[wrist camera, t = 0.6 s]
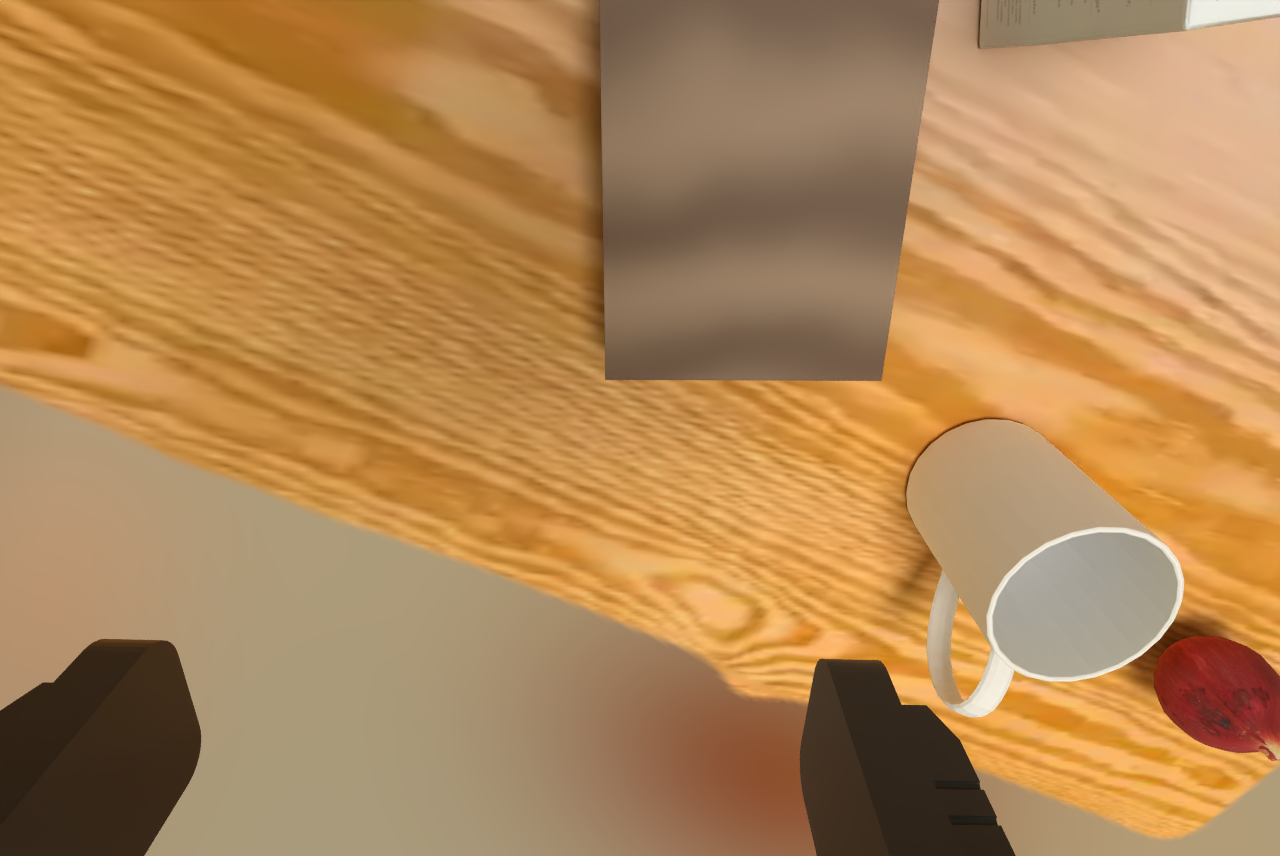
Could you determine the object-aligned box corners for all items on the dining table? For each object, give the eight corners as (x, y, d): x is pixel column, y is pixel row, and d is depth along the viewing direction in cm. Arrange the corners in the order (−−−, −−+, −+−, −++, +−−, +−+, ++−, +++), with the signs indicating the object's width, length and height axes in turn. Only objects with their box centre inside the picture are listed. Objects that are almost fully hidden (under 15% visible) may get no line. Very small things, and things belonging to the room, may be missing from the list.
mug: (958, 393, 38) (1067, 499, 28) (1084, 449, 39) (1228, 568, 30) (835, 574, 43) (893, 717, 33) (952, 619, 44) (1039, 768, 35)
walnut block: (604, -7, 31) (599, -21, 26) (897, -5, 31) (941, -19, 26) (609, 342, 37) (605, 379, 33) (851, 343, 37) (881, 380, 33)
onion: (1105, 666, 46) (1193, 778, 38) (1165, 595, 43) (1272, 699, 36) (1183, 692, 47) (1284, 806, 39) (1246, 624, 44) (1365, 731, 37)
